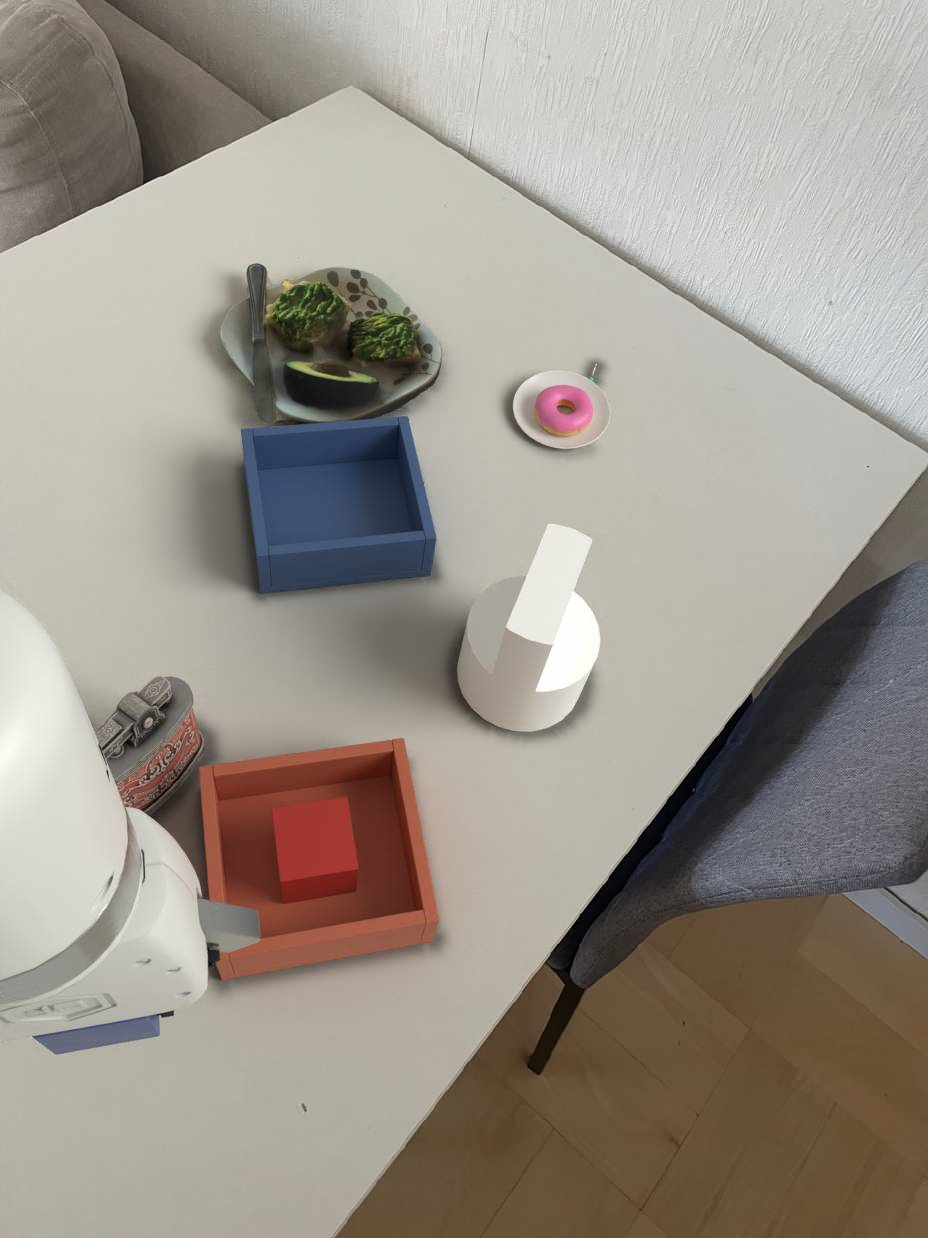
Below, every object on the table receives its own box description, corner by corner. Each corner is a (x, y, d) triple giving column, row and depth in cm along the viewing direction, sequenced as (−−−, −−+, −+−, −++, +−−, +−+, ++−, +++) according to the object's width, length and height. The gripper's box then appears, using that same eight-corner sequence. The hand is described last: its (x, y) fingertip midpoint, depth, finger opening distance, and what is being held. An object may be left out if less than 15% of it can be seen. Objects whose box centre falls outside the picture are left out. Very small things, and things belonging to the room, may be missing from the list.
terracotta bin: (221, 980, 60) (214, 961, 56) (206, 796, 66) (198, 766, 61) (432, 942, 62) (439, 920, 58) (399, 767, 68) (404, 737, 64)
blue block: (54, 1055, 45) (32, 1038, 41) (55, 952, 47) (33, 927, 43) (160, 1036, 46) (147, 1018, 42) (155, 936, 48) (143, 910, 44)
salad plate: (169, 310, 88) (161, 266, 84) (347, 247, 94) (348, 204, 90) (282, 462, 80) (279, 422, 76) (466, 382, 87) (473, 342, 83)
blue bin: (260, 594, 74) (256, 556, 70) (244, 470, 80) (240, 428, 76) (430, 575, 76) (436, 537, 72) (403, 456, 82) (407, 415, 78)
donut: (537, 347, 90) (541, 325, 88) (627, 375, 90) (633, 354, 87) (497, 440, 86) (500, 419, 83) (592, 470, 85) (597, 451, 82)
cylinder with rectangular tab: (560, 750, 70) (599, 666, 60) (438, 703, 71) (457, 612, 61) (596, 646, 75) (638, 552, 65) (481, 604, 76) (505, 504, 65)
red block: (282, 904, 62) (279, 882, 58) (274, 834, 64) (271, 807, 60) (356, 891, 63) (358, 869, 59) (346, 822, 65) (347, 796, 61)
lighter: (178, 719, 68) (157, 644, 60) (217, 748, 67) (201, 676, 59) (87, 810, 64) (51, 743, 56) (127, 842, 63) (96, 779, 55)
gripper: (-331, 1053, 27) (-102, 1120, 43) (302, 948, 31) (302, 1044, 46) (-285, 792, 31) (-90, 940, 47) (276, 725, 35) (284, 883, 50)
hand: (105, 991), depth 46 cm, fingers closed on blue block, 4 cm apart
